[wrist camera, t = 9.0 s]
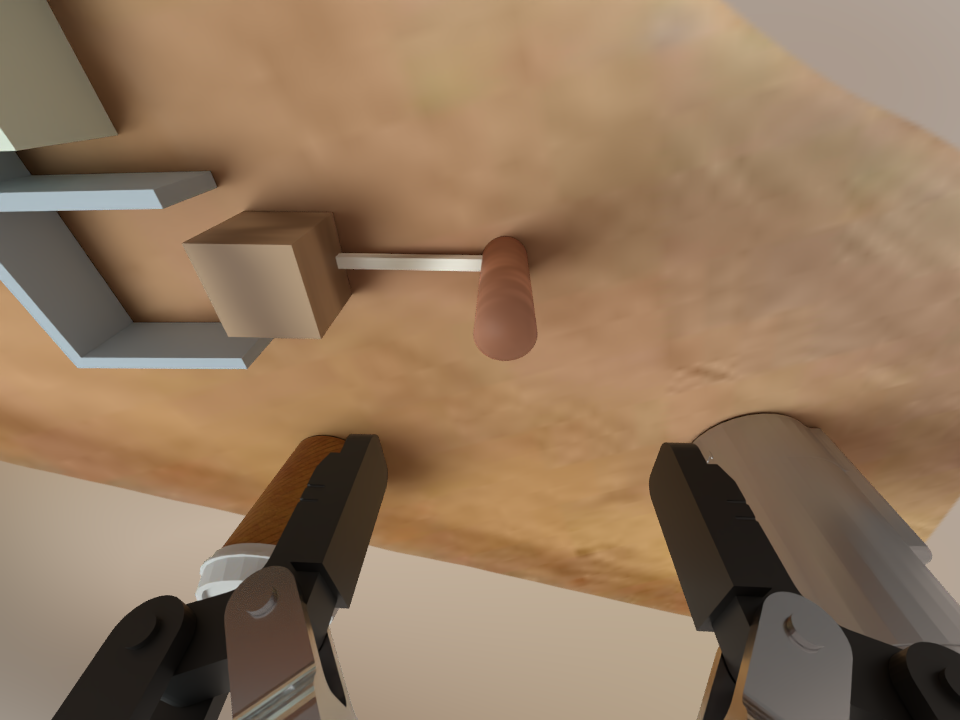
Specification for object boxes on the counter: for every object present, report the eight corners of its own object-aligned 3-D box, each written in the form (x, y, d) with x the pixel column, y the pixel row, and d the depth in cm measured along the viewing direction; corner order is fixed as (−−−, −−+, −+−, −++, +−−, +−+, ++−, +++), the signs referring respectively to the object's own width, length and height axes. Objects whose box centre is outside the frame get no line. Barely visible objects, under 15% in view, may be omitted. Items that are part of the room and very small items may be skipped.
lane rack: (93, -103, 14) (-29, -158, 11) (278, 332, 25) (247, 369, 22) (-170, -86, 14) (-360, -131, 11) (129, 332, 26) (77, 367, 23)
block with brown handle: (530, 214, 20) (543, 279, 14) (524, 298, 23) (532, 382, 17) (243, 211, 21) (127, 271, 14) (274, 292, 24) (190, 372, 17)
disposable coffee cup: (262, 420, 31) (155, 573, 21) (374, 423, 31) (317, 580, 21) (297, 487, 37) (226, 631, 27) (393, 490, 36) (354, 638, 27)
